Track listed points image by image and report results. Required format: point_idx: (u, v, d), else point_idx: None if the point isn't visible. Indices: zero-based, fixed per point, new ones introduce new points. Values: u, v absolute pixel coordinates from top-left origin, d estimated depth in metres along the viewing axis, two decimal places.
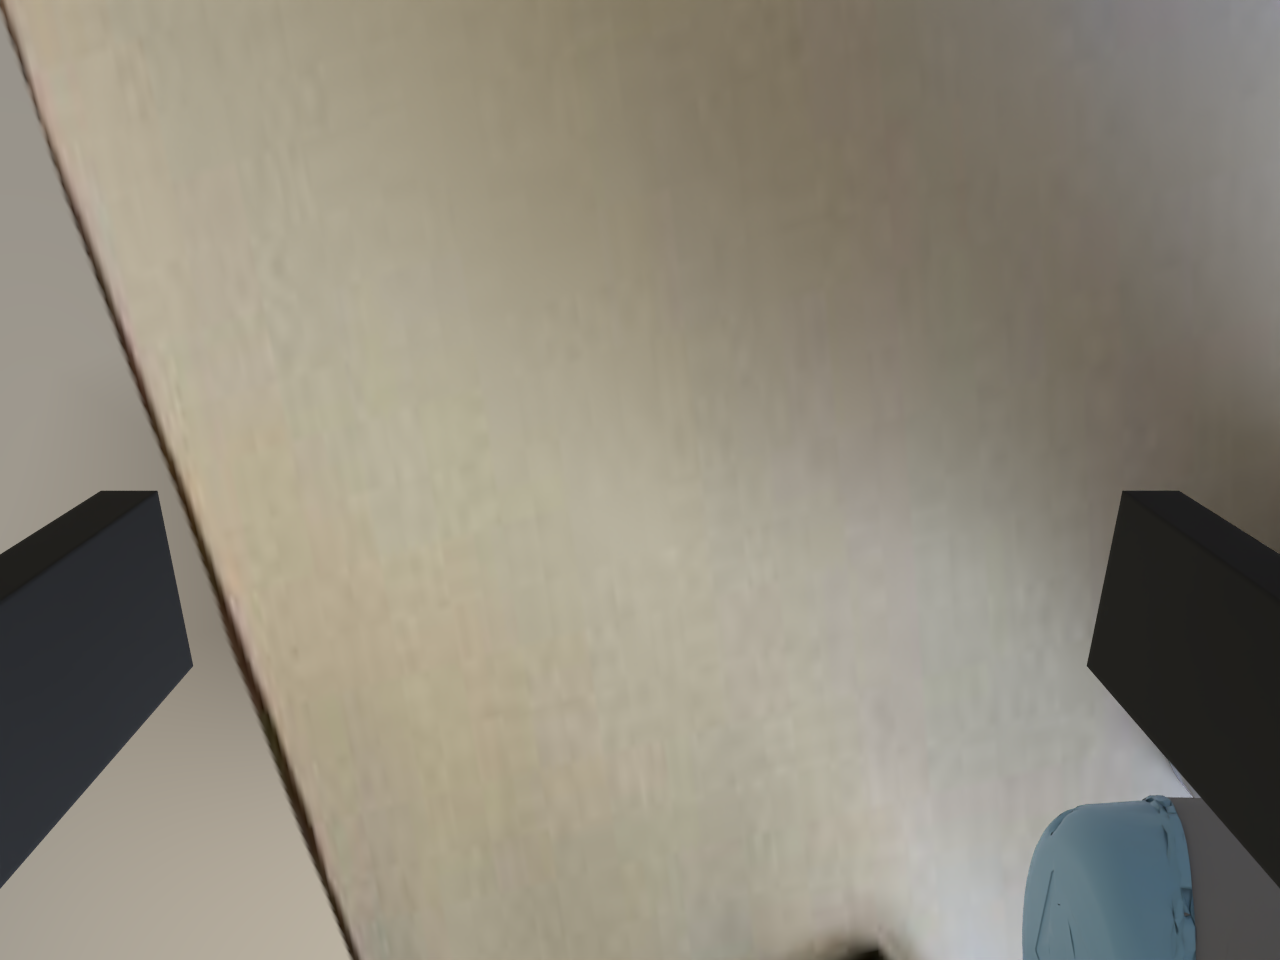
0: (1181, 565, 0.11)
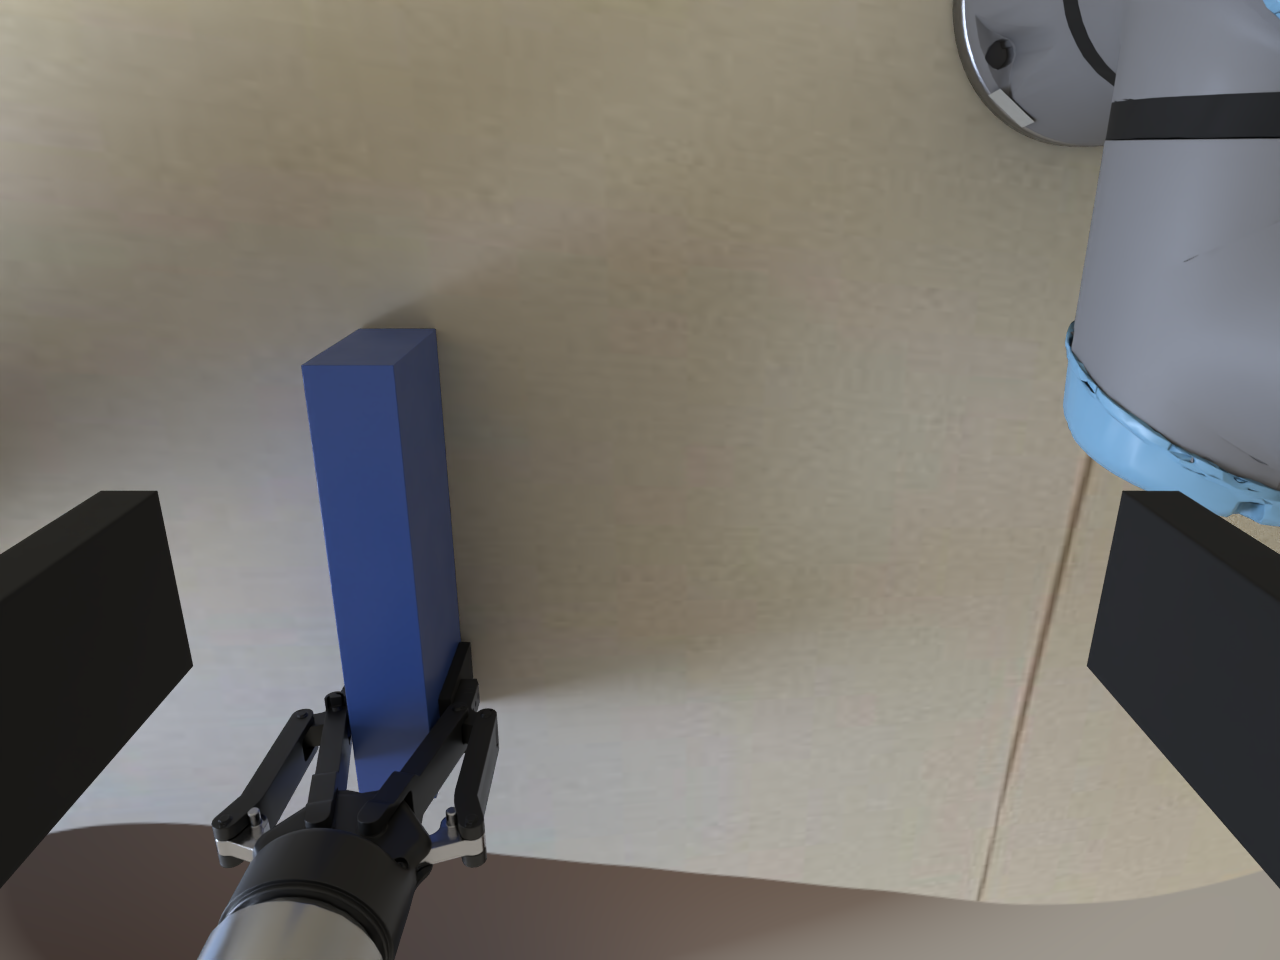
0: (1181, 565, 0.11)
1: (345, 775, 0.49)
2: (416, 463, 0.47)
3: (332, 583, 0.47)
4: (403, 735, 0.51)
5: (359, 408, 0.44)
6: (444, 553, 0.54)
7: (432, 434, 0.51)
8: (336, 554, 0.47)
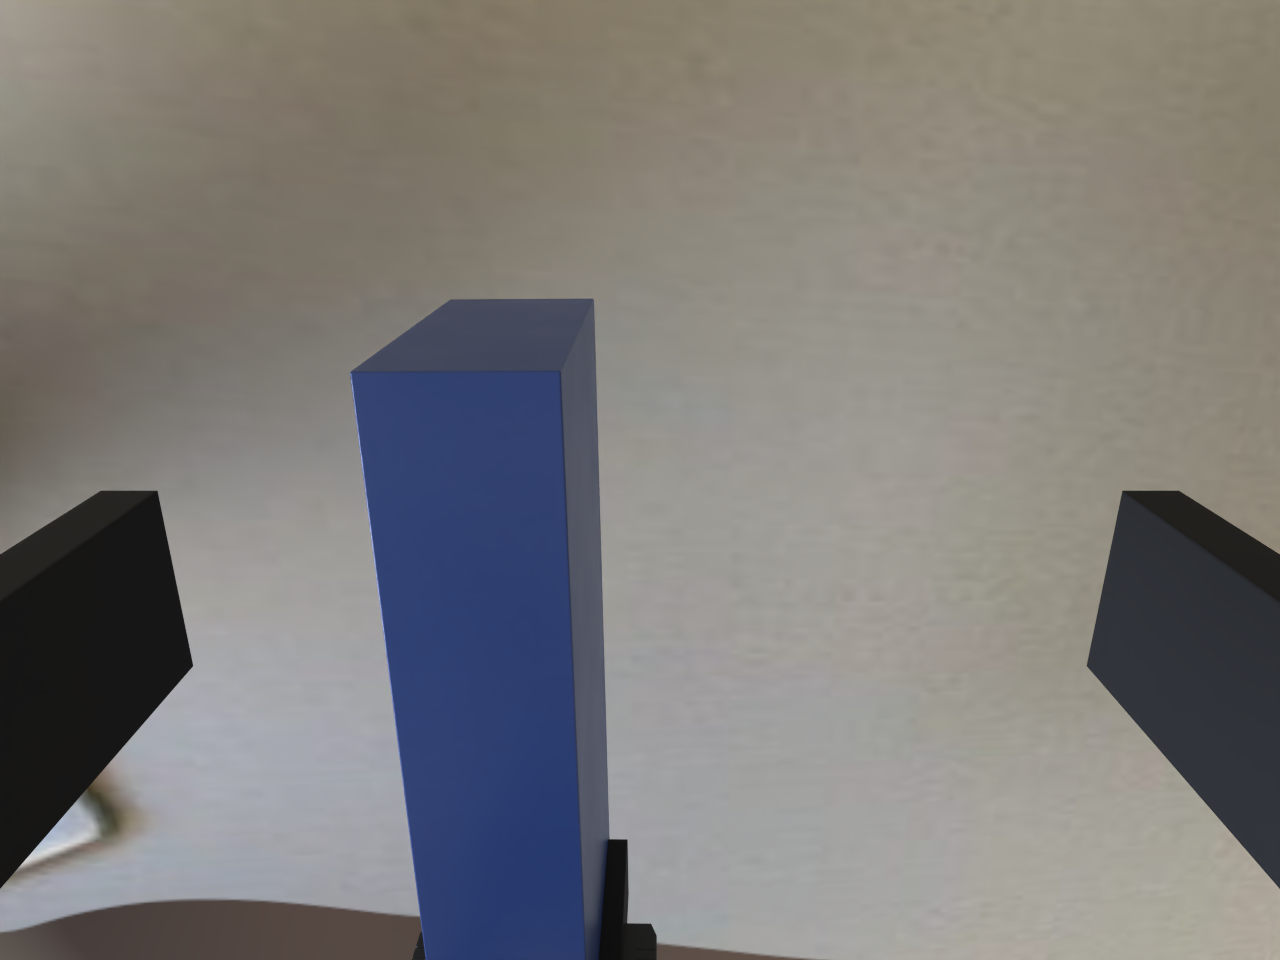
0: (1180, 565, 0.11)
1: None
2: (580, 571, 0.23)
3: (411, 817, 0.23)
4: None
5: (479, 468, 0.20)
6: (600, 708, 0.30)
7: (592, 500, 0.27)
8: (420, 764, 0.22)
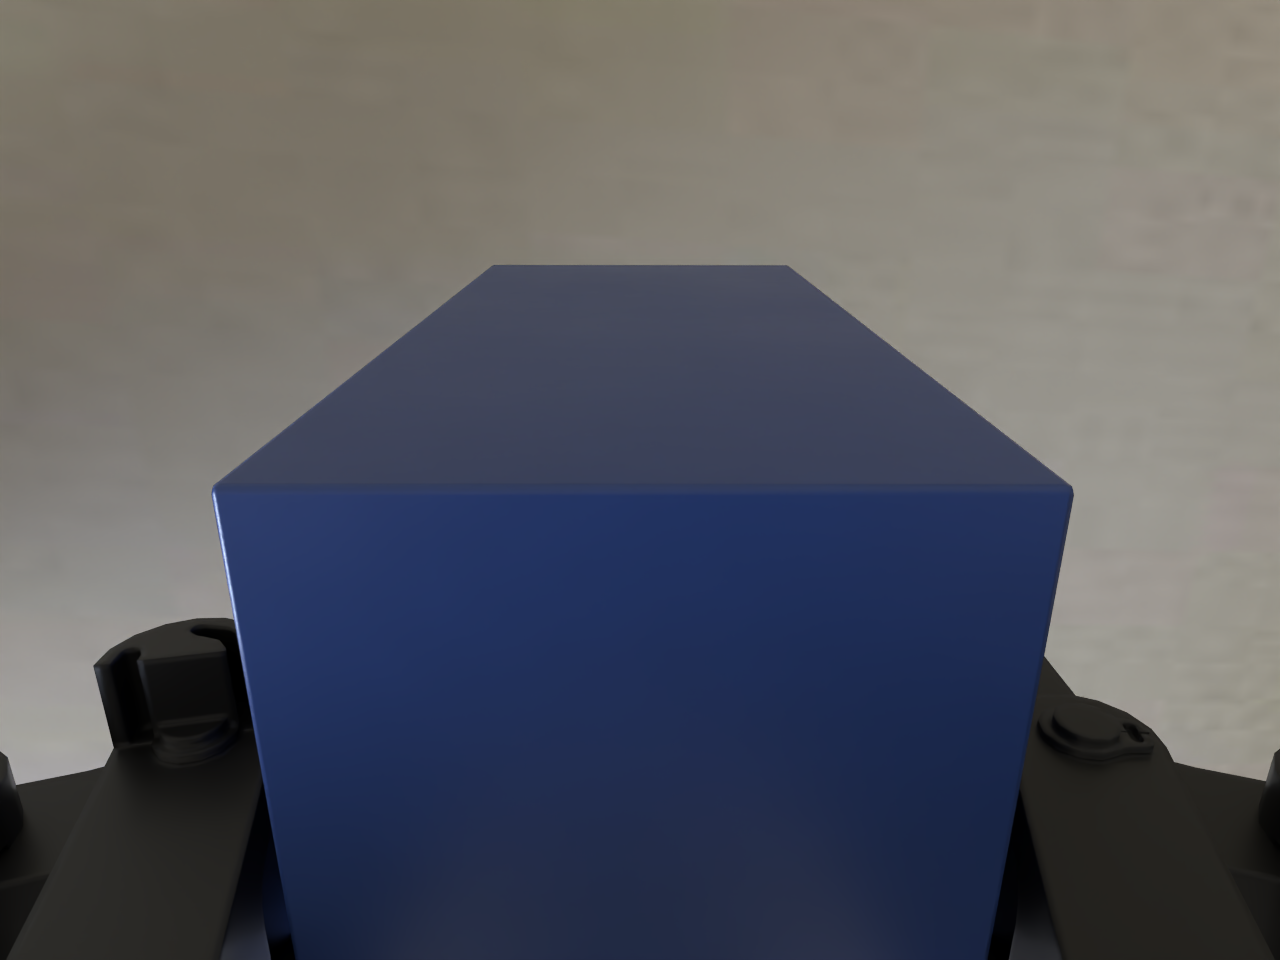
0: None
1: None
2: None
3: None
4: None
5: (703, 825, 0.05)
6: None
7: None
8: None
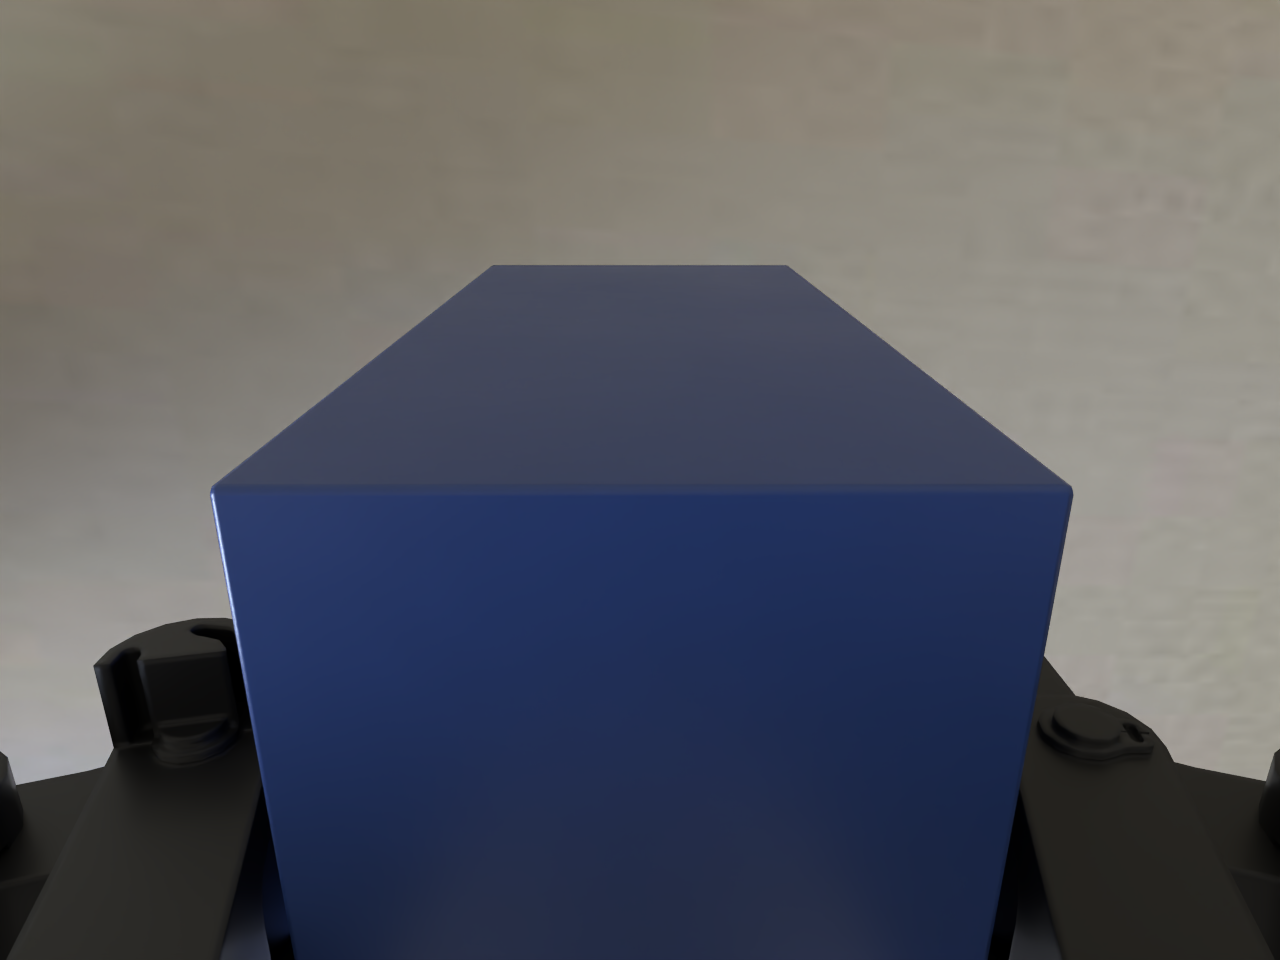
0: None
1: None
2: None
3: None
4: None
5: (703, 826, 0.05)
6: None
7: None
8: None
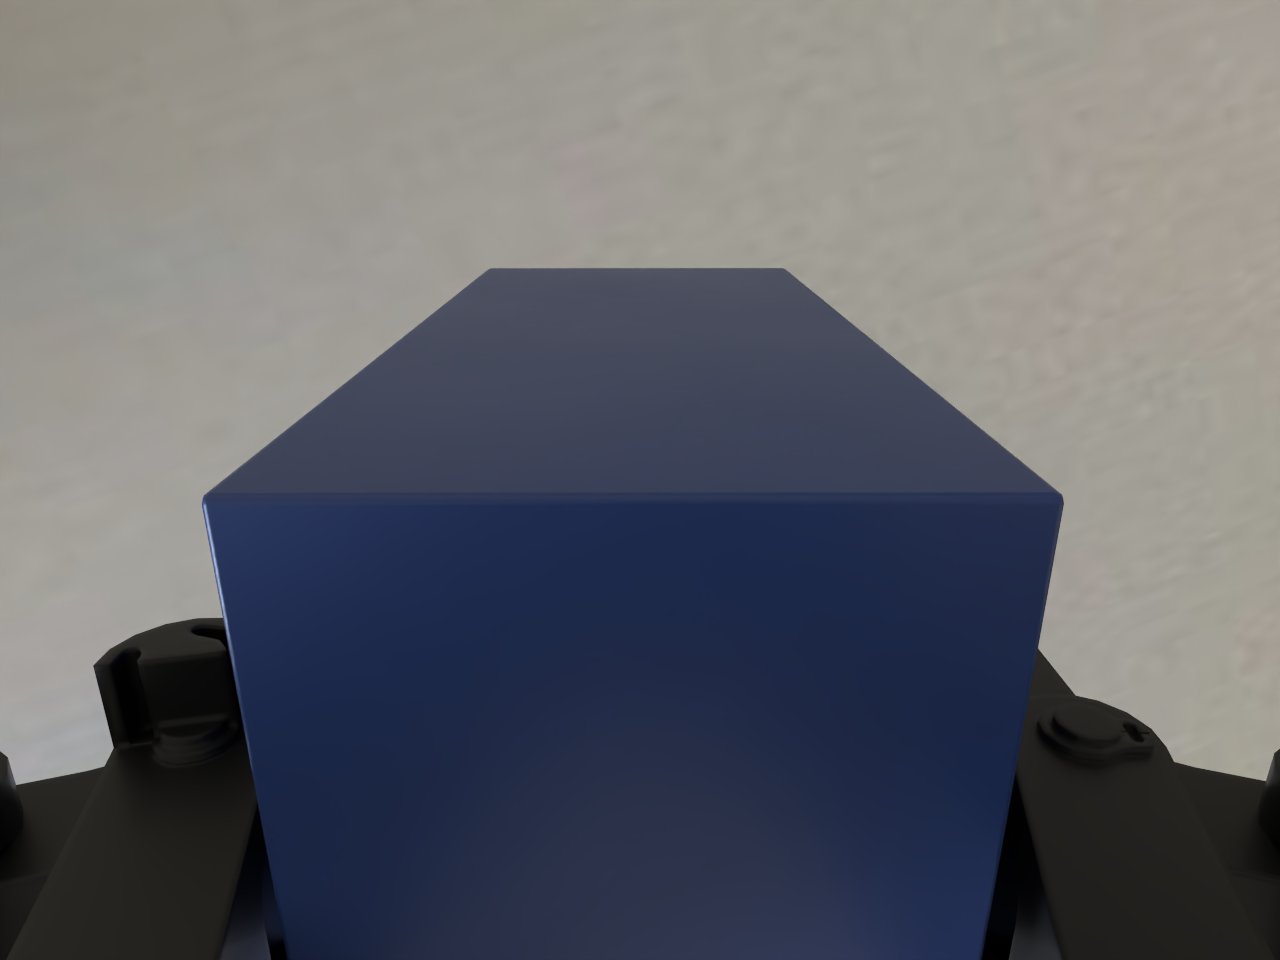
0: None
1: None
2: None
3: None
4: None
5: (696, 832, 0.05)
6: None
7: None
8: None
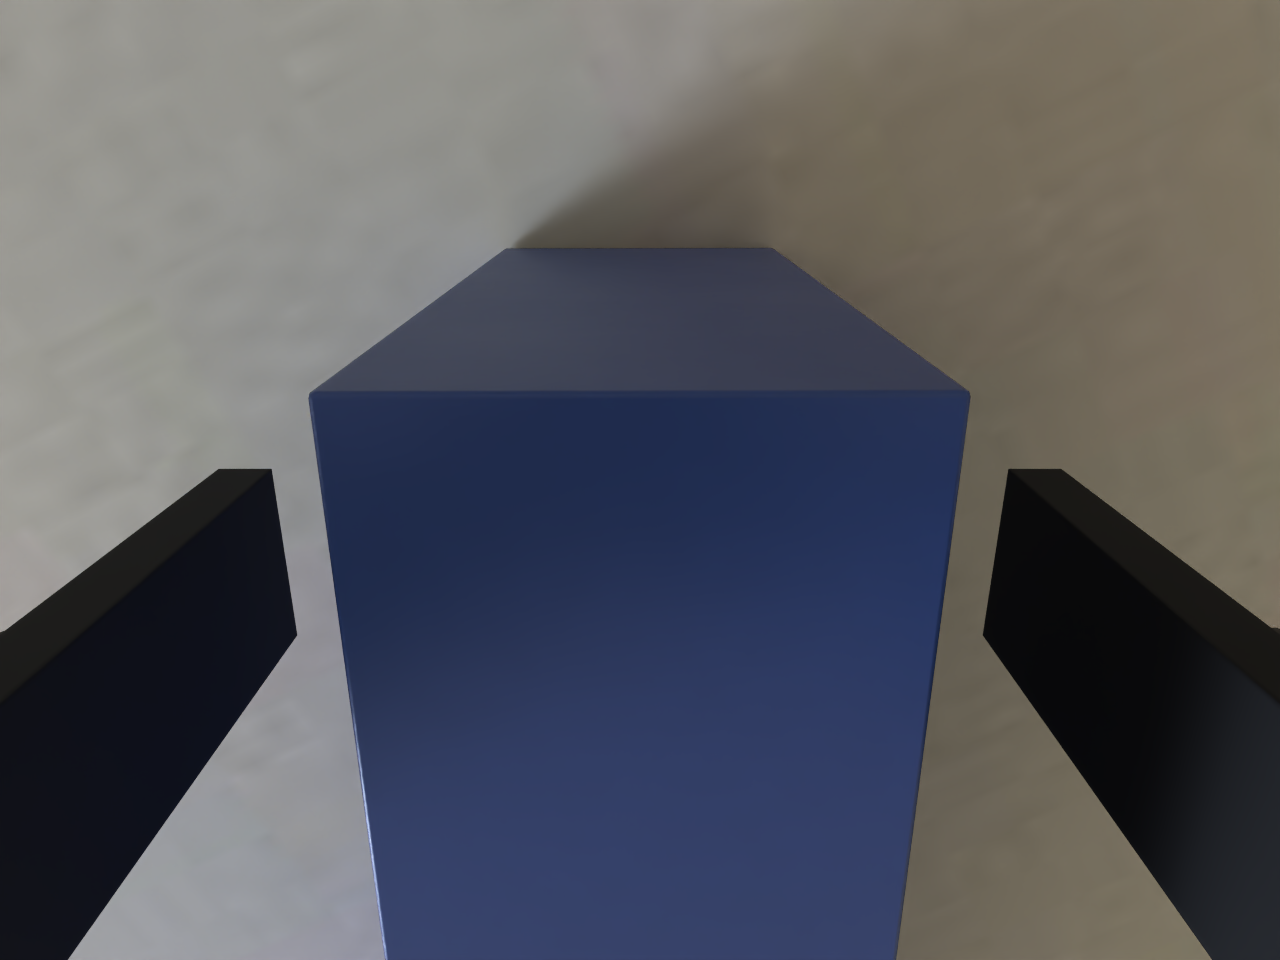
0: (1049, 536, 0.11)
1: None
2: None
3: None
4: None
5: (688, 671, 0.07)
6: None
7: None
8: None
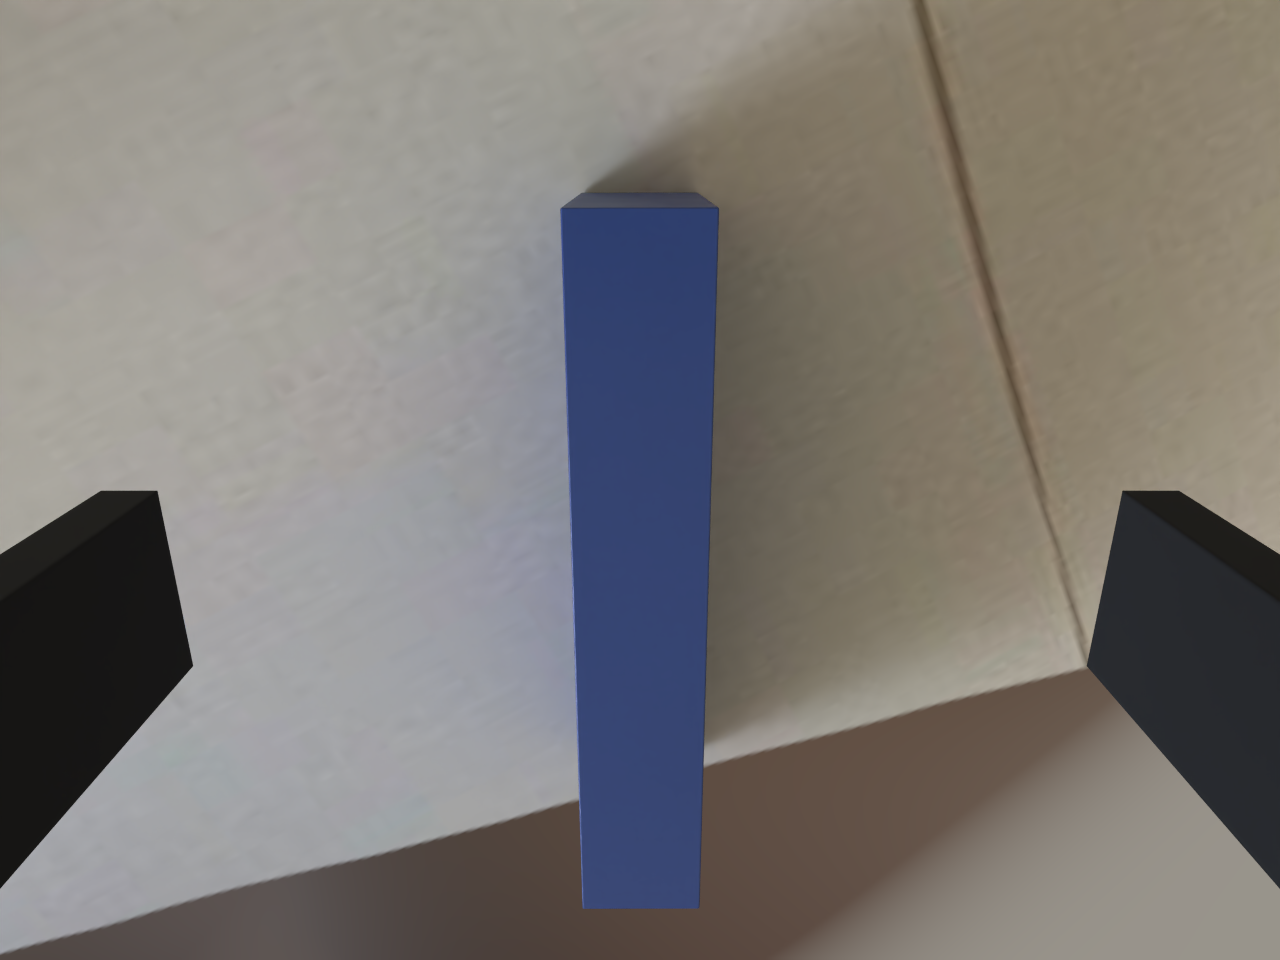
0: (1181, 565, 0.11)
1: None
2: None
3: (575, 581, 0.29)
4: (660, 817, 0.33)
5: (652, 285, 0.26)
6: None
7: None
8: (587, 534, 0.29)
